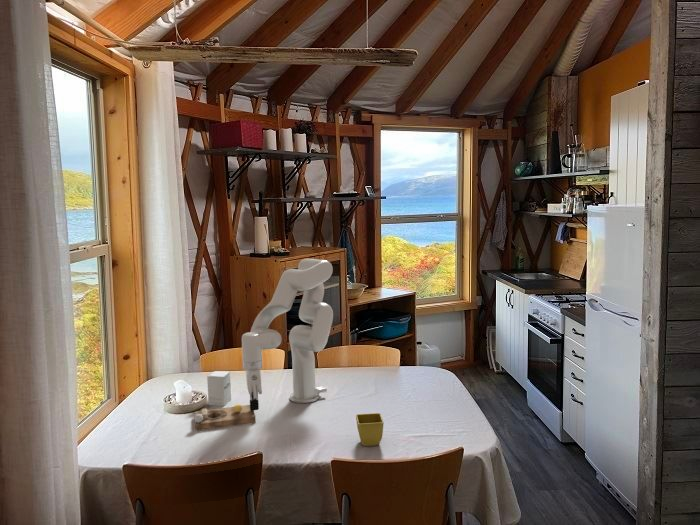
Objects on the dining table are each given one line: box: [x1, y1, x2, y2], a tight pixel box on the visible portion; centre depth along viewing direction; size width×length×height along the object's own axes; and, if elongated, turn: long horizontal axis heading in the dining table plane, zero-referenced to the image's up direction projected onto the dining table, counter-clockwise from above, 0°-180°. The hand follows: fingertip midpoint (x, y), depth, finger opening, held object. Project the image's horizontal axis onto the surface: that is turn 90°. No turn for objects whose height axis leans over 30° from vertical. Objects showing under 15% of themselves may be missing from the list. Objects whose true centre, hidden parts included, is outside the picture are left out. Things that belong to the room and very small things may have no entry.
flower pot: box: [355, 412, 384, 447], centre depth 187 cm, size 9×9×9 cm
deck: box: [194, 404, 257, 431], centre depth 210 cm, size 22×13×4 cm, turn 106°
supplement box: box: [206, 370, 232, 407], centre depth 228 cm, size 7×7×13 cm
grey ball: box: [193, 414, 203, 423], centre depth 202 cm, size 3×3×3 cm
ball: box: [233, 403, 243, 413], centre depth 211 cm, size 3×3×3 cm
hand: (254, 409), depth 213 cm, fingers closed
